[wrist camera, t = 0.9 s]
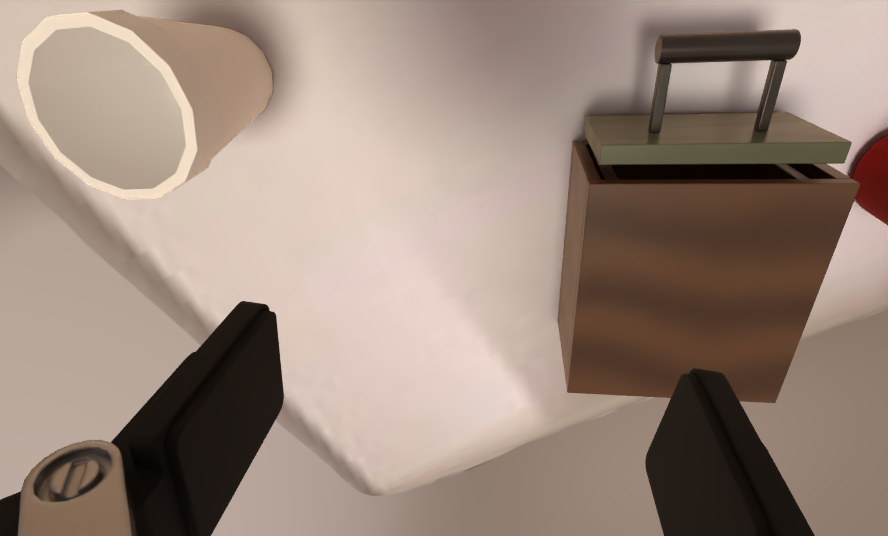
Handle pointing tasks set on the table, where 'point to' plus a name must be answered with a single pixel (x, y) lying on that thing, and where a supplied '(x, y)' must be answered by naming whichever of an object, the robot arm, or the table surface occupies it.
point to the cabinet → (692, 276)
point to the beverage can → (874, 180)
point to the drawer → (713, 122)
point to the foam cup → (139, 96)
